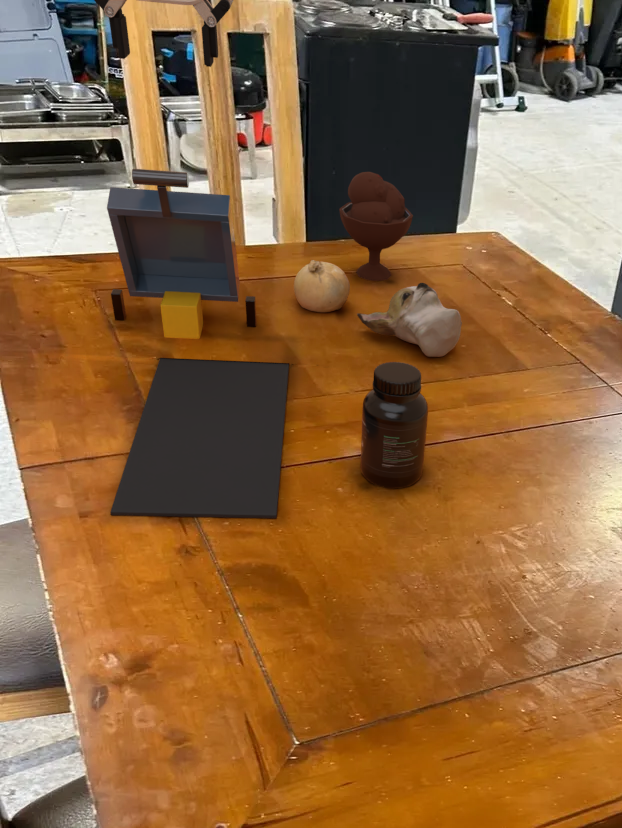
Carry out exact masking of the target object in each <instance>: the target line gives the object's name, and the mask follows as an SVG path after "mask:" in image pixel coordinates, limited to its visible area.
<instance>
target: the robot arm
mask: <svg viewBox="0 0 622 828" xmlns="http://www.w3.org/2000/svg"><path fill="white" fill-rule="evenodd" d="M93 1H94V2H95V3H96V4H97V5H98V6H99V7H100V8H101V9H102V10H103V13H104V15H105V16H107V17H108V21H109V29H110V35H111V44H112V48H113V49H117V54H118V58H119V59H120V60H121V59H122V60H124V59H126V58H127V57H128V56H130V55H131V48H130V39H129V31H128V22H127V17H126V15H125V14H124V13H123V7H124V5H125V4H126V2H127V1H128V0H93ZM137 1H138V2H149V3H158V4H167V5H168V4H170V5H181V6H192V7H193V8H194V9H195V10H196V12H197V13H198V14H199V16H200V17H201V19H202V21H203V25H202V26H201V39H202V53H203V66H206V67H208V68H212V66H213V65H214V58H216V59H218V58H219V42H218V27H217V26H218V23H219V22H220V21H221V19H223V18H224V17H225V15H226V14H227V13H228V12H229V10H230V9H231V8H232V4H233V2H234V0H219V1H218V2H217V3H216V5H215V6H214V7H213V5H212V4H211V2H210V1H209V0H137Z"/></svg>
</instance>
